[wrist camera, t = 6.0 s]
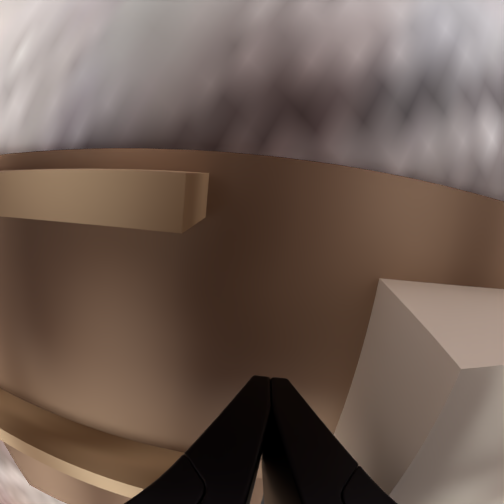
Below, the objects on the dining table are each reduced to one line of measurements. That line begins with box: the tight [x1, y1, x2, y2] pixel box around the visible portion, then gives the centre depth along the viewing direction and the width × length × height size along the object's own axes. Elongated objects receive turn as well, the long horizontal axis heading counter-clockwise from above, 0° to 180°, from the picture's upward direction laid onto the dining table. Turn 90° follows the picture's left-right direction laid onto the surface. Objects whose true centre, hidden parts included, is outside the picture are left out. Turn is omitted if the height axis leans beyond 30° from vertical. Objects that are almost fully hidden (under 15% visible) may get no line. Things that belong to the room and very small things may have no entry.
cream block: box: [334, 278, 504, 504], centre depth 6 cm, size 6×6×4 cm
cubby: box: [0, 168, 209, 498], centre depth 7 cm, size 12×10×2 cm
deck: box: [0, 148, 504, 504], centre depth 9 cm, size 25×19×4 cm
